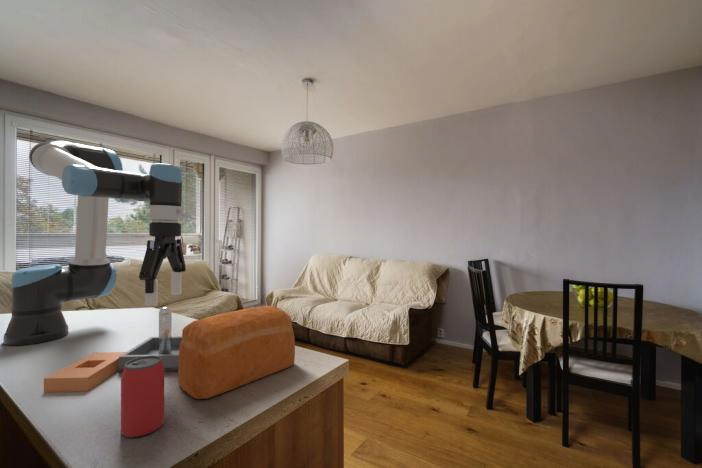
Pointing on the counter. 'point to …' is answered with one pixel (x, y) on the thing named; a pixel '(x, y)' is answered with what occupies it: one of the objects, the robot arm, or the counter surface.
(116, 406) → the counter surface
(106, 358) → the orange block with hole
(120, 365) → the tray
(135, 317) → the counter surface
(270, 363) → the bread
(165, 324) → the pin
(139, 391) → the beer can
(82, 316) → the counter surface
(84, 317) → the counter surface
